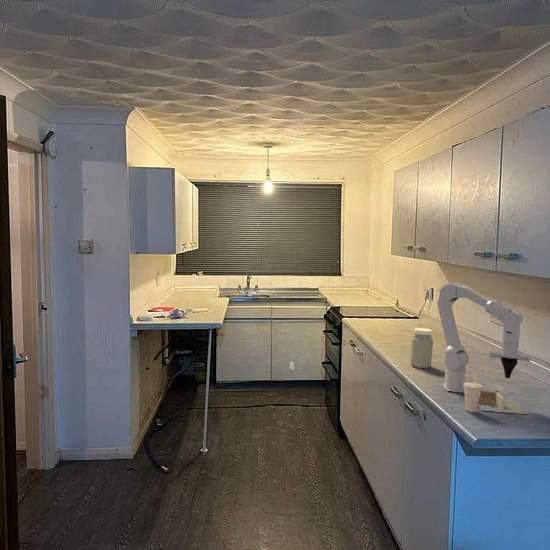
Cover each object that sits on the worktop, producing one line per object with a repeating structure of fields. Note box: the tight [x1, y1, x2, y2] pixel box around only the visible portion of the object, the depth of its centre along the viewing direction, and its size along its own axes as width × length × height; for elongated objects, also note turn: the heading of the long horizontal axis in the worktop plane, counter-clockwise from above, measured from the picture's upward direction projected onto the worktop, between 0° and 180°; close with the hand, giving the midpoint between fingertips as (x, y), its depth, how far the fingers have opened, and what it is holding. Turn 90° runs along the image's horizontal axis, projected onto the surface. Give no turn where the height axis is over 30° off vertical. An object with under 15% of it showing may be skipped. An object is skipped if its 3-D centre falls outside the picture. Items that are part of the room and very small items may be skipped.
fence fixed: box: [479, 390, 499, 403], centre depth 189 cm, size 1×10×5 cm, turn 83°
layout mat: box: [477, 398, 528, 415], centre depth 187 cm, size 16×16×1 cm
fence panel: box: [495, 392, 505, 410], centre depth 184 cm, size 8×1×4 cm, turn 169°
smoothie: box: [464, 372, 483, 413], centre depth 179 cm, size 6×6×14 cm
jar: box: [409, 327, 434, 369], centre depth 238 cm, size 10×10×18 cm
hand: (507, 377), depth 190 cm, fingers closed
